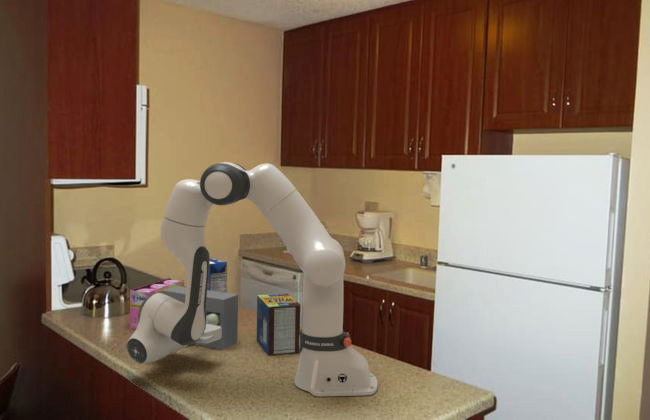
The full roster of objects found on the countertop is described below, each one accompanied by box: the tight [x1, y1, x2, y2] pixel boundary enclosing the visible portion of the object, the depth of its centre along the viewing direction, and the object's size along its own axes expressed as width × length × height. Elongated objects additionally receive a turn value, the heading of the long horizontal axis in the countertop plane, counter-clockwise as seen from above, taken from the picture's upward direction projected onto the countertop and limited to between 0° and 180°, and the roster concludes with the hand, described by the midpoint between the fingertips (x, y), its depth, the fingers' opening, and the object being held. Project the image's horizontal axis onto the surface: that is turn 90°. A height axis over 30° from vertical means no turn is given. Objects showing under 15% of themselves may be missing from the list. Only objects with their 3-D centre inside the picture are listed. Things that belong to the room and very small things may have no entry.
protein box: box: [256, 292, 302, 356], centre depth 181 cm, size 10×15×16 cm
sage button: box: [206, 313, 220, 325], centre depth 178 cm, size 4×4×4 cm
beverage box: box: [207, 257, 228, 293], centre depth 209 cm, size 7×11×22 cm, turn 40°
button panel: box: [162, 286, 239, 351], centre depth 185 cm, size 24×8×16 cm, turn 66°
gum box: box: [129, 277, 185, 330], centre depth 206 cm, size 24×8×14 cm, turn 161°
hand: (204, 323), depth 174 cm, fingers closed
